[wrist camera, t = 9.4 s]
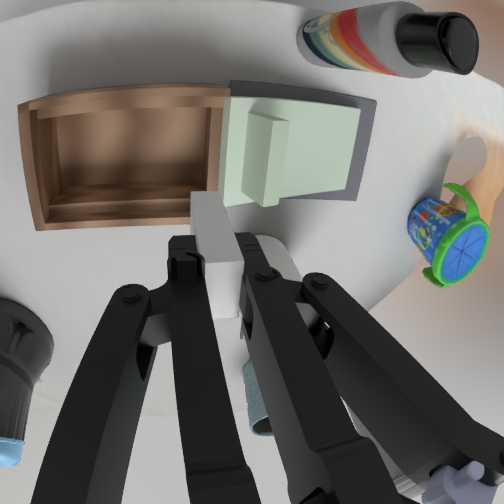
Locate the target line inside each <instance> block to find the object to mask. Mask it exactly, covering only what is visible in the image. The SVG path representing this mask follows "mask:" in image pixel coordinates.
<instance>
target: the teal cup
mask: <svg viewBox="0 0 504 504" xmlns="http://www.w3.org/2000/svg"><path fill="white" fill-rule="evenodd" d="M243 378H244V384H245V388H246V389H245V392H246V401H247V403H248V416H249V425H250V431H251V432H252V433H253V434H255V435H258V436H274V434H273V431H272V428H271V424H270V421H269V418H268V415H267V411H266V408H265V405H264V402H263V398H262V395H261V392H260V388H259V385H258V381H257V378H256V375H255V371H254V368H253V364H252V361H251V360H249V361H248V362H247V363H246V364H245V366H244V368H243Z"/></svg>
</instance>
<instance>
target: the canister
mask: <svg viewBox="0 0 504 504" xmlns="http://www.w3.org/2000/svg"><path fill="white" fill-rule="evenodd" d="M346 405H347V404H346ZM347 407H348V410H349V412H350V414H351V417H352V419H353V422H354V424H355V427H356V429H357V432H358V434H359V435H360V436H364V437H369V438H370V439H371V440H372V441H373V442H374V443H375V445H376V447H377V448H378V450H379V452H380V455H381V457H382V459H383V461H384V463H385V465H386V467H387V469H388V471H389V474H390V476H391V478H392V480H393V482H394V484H395V486H396V489H397V491H398V493H400V494H402V495H404V496H406V497H408V498H410V499H412V498H414V497H416V496H418V495H421V494H423V493H424V492H425V491H426V490H425V489H423V488H421V487H420V486H418V485H417V484H415V483H414V482H413V481H412V480H411V479H409V478H408V477H407V476H406V475H405V474H404V473H403V472H402V471H401V469H400V468H399V467H398V466H397V465H396V464H395V463H394V461H393V460H392V459H391V458H390V456H389V455H388V454H387V453H386V452H385V450H384V449H383V448H382V447H381V446H380V444H379V443H378V442H377V441H376V439H375V438H374V437H373V436H372V435H371V433H370V432H369V431H368V430H367V428H366V427H365V426H364V425H363V424H362V422H361V421H360V420H359V419H358V417H357V416H356V415H355V414H354V412H353V411H352V410H351V409H350V407H349V406H348V405H347Z"/></svg>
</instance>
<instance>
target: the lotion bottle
mask: <svg viewBox="0 0 504 504" xmlns="http://www.w3.org/2000/svg"><path fill="white" fill-rule="evenodd" d="M297 45H298V48H299V51H300V53H301V54H302V56H303V57H304V58H305V59H306V60H307V61H309V62H310V63H312V64H314V65H317V66H322V67H330V68H341V69H351V70H359V71H367V72H374V73H381V74H387V75H393V76H399V77H406V78H421V77H424V76H426V75H428V74H429V73H430V72H431V71H432V70H438V71H444V72H450V73H455V74H460V75H467V74H469V73H470V72H471V71H472V70H473V68H474V66H475V64H476V61H477V57H478V51H479V39H478V34H477V30H476V28H475V26H474V24H473V23H472V21H471V20H470V19H469V18H467V17H466V16H465V15H463V14H461V13H457V12H425V11H424V10H422V9H421V8H420V7H418V6H416V5H415V4H412V3H409V2H404V1H396V2H387V3H381V4H375V5H369V6H364V7H360V8H354V9H350V10H345V11H341V12H337V13H333V14H329V15H325V16H321V17H317V18H314V19H312V20H309V21H307V22H306V23H305V24H304V25H303V26H302V27H301V28H300V30H299V32H298V35H297Z"/></svg>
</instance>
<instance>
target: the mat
mask: <svg viewBox="0 0 504 504" xmlns="http://www.w3.org/2000/svg"><path fill="white" fill-rule="evenodd" d="M230 96H243V97H264V98H279V99H291V100H302V101H311V102H320V103H328V104H335V105H342V106H349V107H354V108H358V109H361V111H360V117H359V122H358V128H357V133H356V138H355V144H354V149H353V154H352V159H351V163H350V168H349V173H348V177H347V182H346V187H345V189H342V190H335V191H327V192H319V193H312V194H305V195H298V196H291V197H284V198H285V199H323V200H348V201H356V199H357V195H358V191H359V187H360V183H361V178H362V174H363V170H364V165H365V161H366V156H367V151H368V147H369V142H370V137H371V132H372V127H373V121H374V116H375V111H376V105H377V102H375V101H371V100H367V99H363V98H358V97H353V96H349V95H344V94H338V93H333V92H328V91H322V90H316V89H309V88H303V87H296V86H288V85H280V84H271V83H261V82H250V81H237V80H231V82H230Z"/></svg>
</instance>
